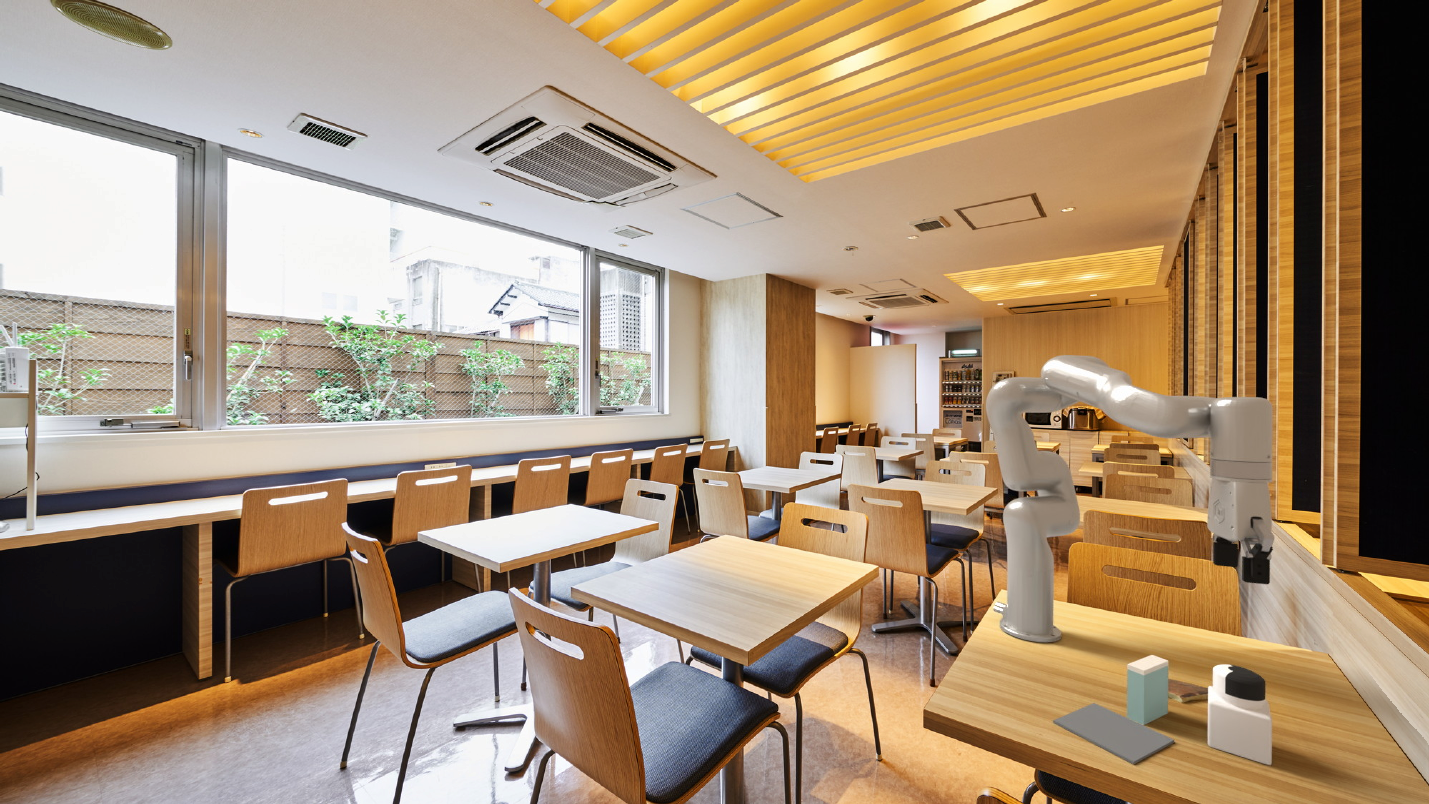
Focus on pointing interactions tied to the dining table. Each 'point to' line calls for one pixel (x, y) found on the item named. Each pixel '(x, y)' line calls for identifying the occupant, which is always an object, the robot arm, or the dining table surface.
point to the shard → (1186, 691)
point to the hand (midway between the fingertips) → (1239, 574)
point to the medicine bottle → (1239, 714)
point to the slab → (1147, 689)
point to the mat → (1114, 732)
